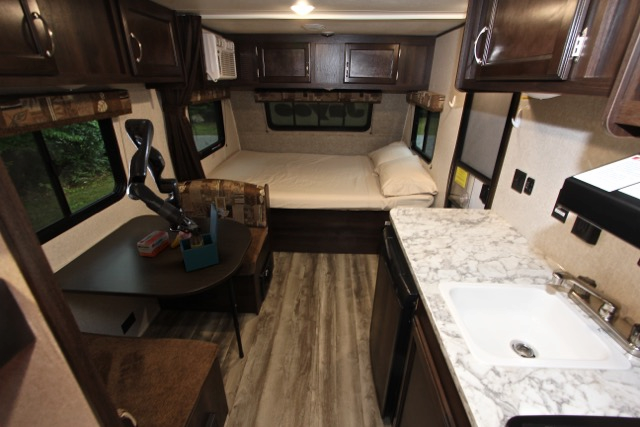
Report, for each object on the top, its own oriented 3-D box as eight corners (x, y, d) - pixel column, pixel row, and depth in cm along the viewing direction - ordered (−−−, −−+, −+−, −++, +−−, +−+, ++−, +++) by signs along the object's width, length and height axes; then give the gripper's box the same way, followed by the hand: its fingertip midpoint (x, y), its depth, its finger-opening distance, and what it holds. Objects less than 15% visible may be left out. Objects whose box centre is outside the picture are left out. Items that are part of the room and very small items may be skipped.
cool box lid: (216, 212, 141) (227, 212, 144) (211, 203, 151) (221, 203, 154) (215, 242, 147) (225, 241, 150) (209, 232, 157) (220, 231, 160)
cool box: (186, 271, 145) (182, 251, 140) (183, 259, 155) (179, 239, 150) (219, 263, 152) (216, 243, 147) (213, 251, 162) (210, 232, 157)
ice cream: (175, 251, 159) (197, 233, 165) (163, 239, 160) (186, 221, 166) (180, 256, 169) (201, 238, 175) (169, 244, 170) (190, 227, 176)
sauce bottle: (208, 260, 152) (202, 227, 144) (195, 264, 149) (188, 230, 141) (204, 255, 157) (198, 222, 149) (192, 259, 154) (185, 225, 145)
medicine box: (157, 242, 171) (154, 230, 167) (170, 243, 170) (167, 231, 166) (139, 256, 157) (136, 243, 154) (153, 257, 156) (150, 244, 153)
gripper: (169, 213, 133) (201, 234, 140) (178, 201, 145) (206, 221, 153) (159, 224, 134) (192, 245, 141) (168, 211, 147) (198, 231, 154)
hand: (199, 232), depth 147 cm, fingers open, 4 cm apart
